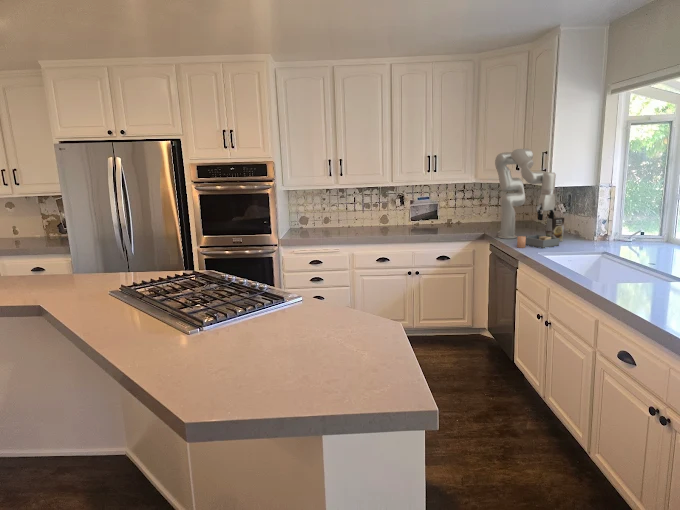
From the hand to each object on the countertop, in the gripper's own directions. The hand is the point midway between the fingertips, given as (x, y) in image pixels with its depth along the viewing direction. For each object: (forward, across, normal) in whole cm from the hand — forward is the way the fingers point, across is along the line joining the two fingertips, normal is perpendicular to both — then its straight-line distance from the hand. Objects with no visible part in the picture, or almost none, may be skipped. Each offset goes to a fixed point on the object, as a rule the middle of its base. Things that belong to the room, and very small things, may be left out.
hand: (545, 219), depth 286 cm
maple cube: (+16, 0, +1) cm, 16 cm away
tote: (+17, 0, -3) cm, 18 cm away
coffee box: (+18, -18, -7) cm, 26 cm away
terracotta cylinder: (+17, +15, -4) cm, 23 cm away
